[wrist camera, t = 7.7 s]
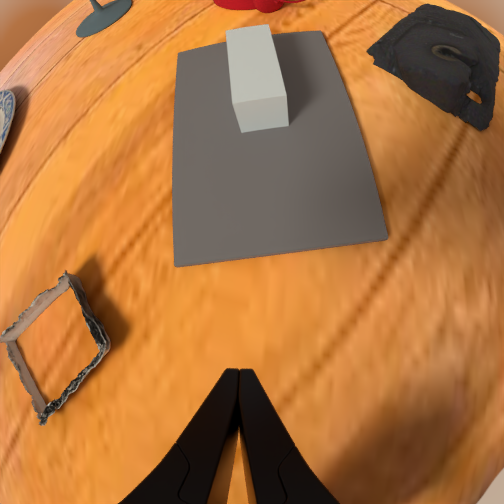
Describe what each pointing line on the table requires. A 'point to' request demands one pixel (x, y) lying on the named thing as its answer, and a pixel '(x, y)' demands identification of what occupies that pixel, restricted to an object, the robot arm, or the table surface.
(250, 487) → the robot arm
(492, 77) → the dark slate chunk
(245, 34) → the painted block
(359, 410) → the table surface
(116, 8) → the cocktail glass
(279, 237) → the rubber mat
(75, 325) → the table surface
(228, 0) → the alarm clock
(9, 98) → the ceramic plate
